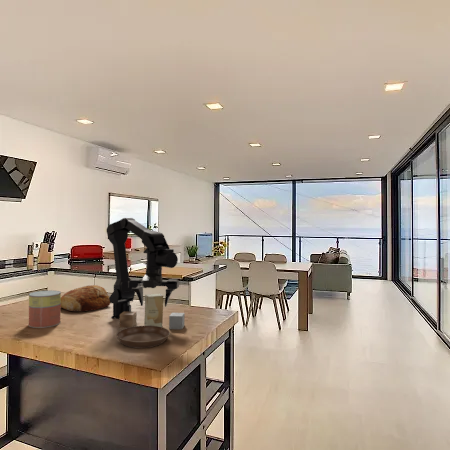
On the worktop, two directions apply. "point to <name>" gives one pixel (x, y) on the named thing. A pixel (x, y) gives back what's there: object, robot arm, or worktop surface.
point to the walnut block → (127, 319)
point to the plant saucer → (143, 336)
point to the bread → (85, 299)
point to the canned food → (44, 309)
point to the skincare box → (153, 310)
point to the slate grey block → (176, 320)
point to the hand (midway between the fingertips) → (153, 306)
